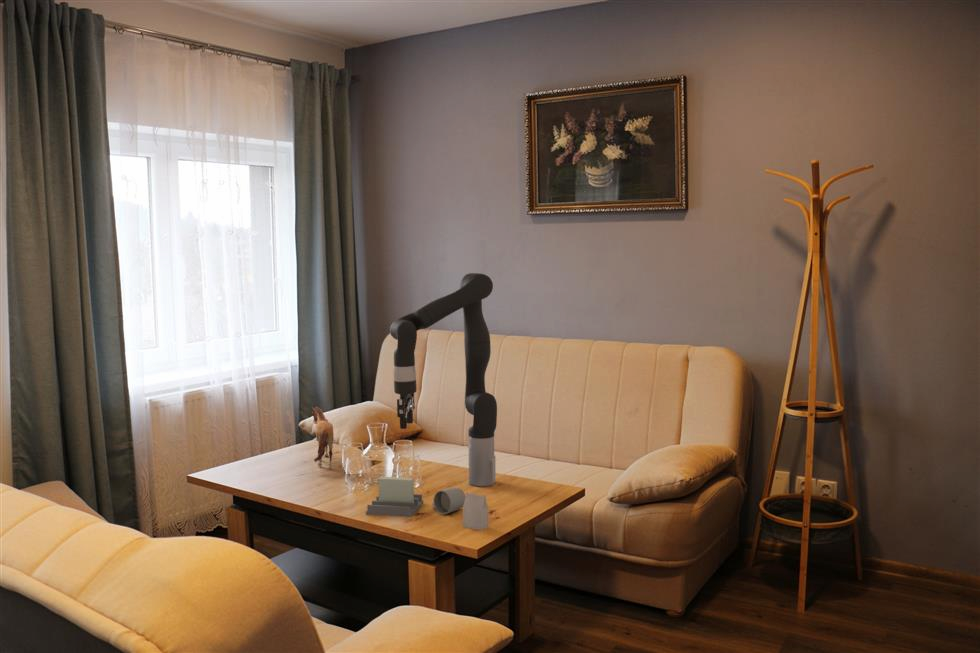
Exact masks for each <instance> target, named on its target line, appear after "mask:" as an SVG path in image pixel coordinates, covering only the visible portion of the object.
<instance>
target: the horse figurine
mask: <svg viewBox="0 0 980 653" xmlns="http://www.w3.org/2000/svg"><path fill="white" fill-rule="evenodd" d="M311 409H312V410H313V411H312V413H311V414H312V416H313V421H312V422H313V423H314V424H315V428H314V429H315V431H314V432H315V435H316V441H317V444H318V449H317V457H316V458H314V459H313V460H314V463H317V462H318V463H317V466H318V467H321V466H322V465H323V463H322V458H323V457H329V462H328V466H327V468H328V469H332V468H333V465H332V464H333V462H332V460H333V459H332V457H333V446H334V445H333V443H334V440H335V439H334V426H333V424H332V422H329V420H328V419H327V418H326V416H325V414H324V412H323V410H322V408H320V407H318V406H315V407H314V406H311ZM328 449H329V450H328Z"/></svg>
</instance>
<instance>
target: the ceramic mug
mask: <svg viewBox="0 0 980 653" xmlns="http://www.w3.org/2000/svg"><path fill="white" fill-rule="evenodd" d="M465 496H466V493H464V491H463V490H462V489H461V488H459V487H450V488H444V489H440V490H437V491H436V492H435V493H434V496H433V502H432V503H431V505H432V508H433V509H435V510H436V512H437V513H439V514H441V515H447V514H451V513H453V512H456V511H459V510H461V509H463V505H464V501H465Z"/></svg>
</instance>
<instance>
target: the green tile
mask: <svg viewBox="0 0 980 653" xmlns="http://www.w3.org/2000/svg"><path fill="white" fill-rule="evenodd" d="M414 480H415V478H414V477H413V478H412V477H398V476H397V477H395V476H394V477H393V476H392V477H391V476H380V477H379V478H378V496H379V501H393V502H412V503H414V494H415V484H414V482H415V481H414Z"/></svg>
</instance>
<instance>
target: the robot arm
mask: <svg viewBox="0 0 980 653" xmlns="http://www.w3.org/2000/svg"><path fill="white" fill-rule="evenodd" d="M493 289H494V283H493V281H492V278H491V277H490V276H488V275H486V274H484V273H478V272H477V273H475V272H470V273H466V274H465V275H464V276H463V277H462V278H461V280H460V285H459V289H458V290H455V291H454V292H452V293H449V294H446V295H445V296H441V297H440V298H437V299H435V300H433V301H430V302H428V303H427V304H425V305H424V306H422V307H420V308H419V309H417V310H416V311H414V312H411V313H408V314H405V315H404V316H401V317H399V318H397V319H396V320H394V321H393V322H392V324H391V325H390V327H389V333H390V336H391V337H392V338H393V339H394V340H397V346H396V348H395V349H394V352H393V392H394V394H397V395H399V398H398V399H396V408H397V410H396V415H397V418H399V427H400V429H401V430H406V429H407V428H408V424H413V423H414V416H413V415H414V412H415V409H416V407H415V393H416V392H417V370H416V357H415V351H416V346H417V339H418V338H417V337H418V331H420V330H425V329H428V328H430V327H431V326H433V325H434V324H437V323H438V322H440V321H441V320H443V319H444V318H446V317H448V316H450V315H452V314H453V313H455V312H457V311H459V310H460V309H462V312H463V330H464V331H463V336H464V339H463V342H464V343H463V344H464V358H465V360H464V361H465V362H464V363H465V392H464V406H465V409H466V411H467V413H468V414H470V415H472V416H473V420H472V422H473V423H472V424H473V425H471V426H470V427H469V428H468V484H469V485H470V486H474V487H488V486H489V487H490V486H494V484H495V483H496V479H497V478H496V476H497V475H496V455H495V431H496V430H497V425H498V424H497V421H498V420H497V418H498V403H497V398H496V397H495V396H494V395H493V394H491V393H489V392H486V383H485V382H486V380H485V377H486V376H485V375H486V371H487V368H488V365H489V362H490V358H491V354H492V352H491V348H492V346H491V336H490V331H489V329H488V326H487V322H486V320H485V318H484V314H483V302H482V300H485V299H486V298H488V297H489V296H490V295H491V294H492V292H493Z"/></svg>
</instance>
